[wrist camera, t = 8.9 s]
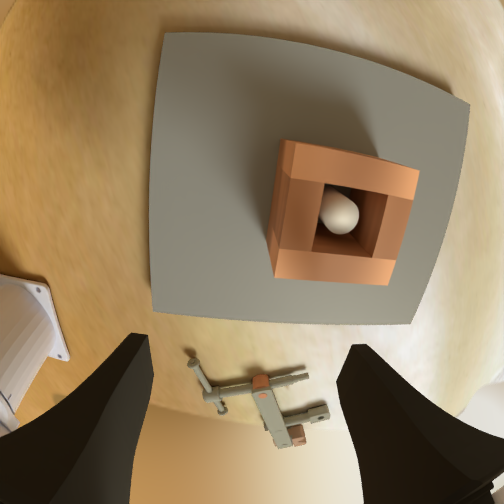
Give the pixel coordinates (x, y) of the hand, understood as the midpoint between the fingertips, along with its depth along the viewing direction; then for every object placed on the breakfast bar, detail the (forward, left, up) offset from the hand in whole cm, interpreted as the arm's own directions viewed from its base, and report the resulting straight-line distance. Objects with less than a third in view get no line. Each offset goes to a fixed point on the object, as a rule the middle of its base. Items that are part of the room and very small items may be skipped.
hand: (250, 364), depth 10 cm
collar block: (+4, +5, -7) cm, 9 cm away
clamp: (+4, -14, -9) cm, 17 cm away
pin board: (+4, +4, -9) cm, 10 cm away
